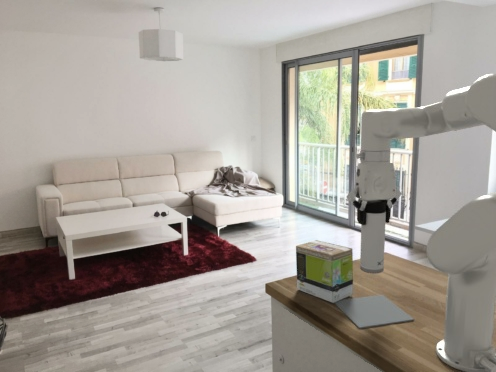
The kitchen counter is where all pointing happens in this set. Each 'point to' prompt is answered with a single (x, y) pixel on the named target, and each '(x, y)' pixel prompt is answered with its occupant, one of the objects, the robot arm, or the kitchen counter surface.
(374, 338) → the kitchen counter surface
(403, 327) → the kitchen counter surface
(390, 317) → the mat
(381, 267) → the travel mug
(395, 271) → the kitchen counter surface
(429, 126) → the robot arm
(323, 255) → the tea box
